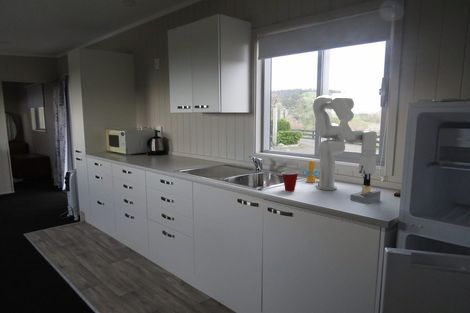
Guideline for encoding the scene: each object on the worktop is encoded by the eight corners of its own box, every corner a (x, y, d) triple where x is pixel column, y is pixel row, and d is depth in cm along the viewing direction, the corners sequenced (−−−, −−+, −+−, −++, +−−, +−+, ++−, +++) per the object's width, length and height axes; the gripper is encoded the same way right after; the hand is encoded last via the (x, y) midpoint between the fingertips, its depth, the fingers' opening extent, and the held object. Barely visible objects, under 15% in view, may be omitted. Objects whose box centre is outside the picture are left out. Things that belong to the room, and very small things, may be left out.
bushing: (360, 199, 184) (360, 186, 183) (364, 198, 187) (365, 185, 186) (367, 201, 181) (367, 187, 180) (371, 200, 183) (372, 186, 182)
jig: (350, 199, 185) (350, 190, 184) (362, 196, 192) (362, 187, 191) (368, 203, 176) (368, 194, 176) (380, 200, 183) (380, 191, 183)
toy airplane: (301, 182, 231) (301, 161, 229) (303, 179, 240) (303, 159, 239) (318, 183, 227) (319, 162, 225) (320, 180, 236) (321, 160, 234)
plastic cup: (288, 187, 214) (288, 169, 213) (301, 190, 206) (302, 172, 205) (277, 190, 207) (277, 171, 205) (291, 193, 199) (291, 174, 198)
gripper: (369, 151, 188) (368, 182, 190) (354, 153, 179) (353, 186, 181) (382, 152, 182) (380, 185, 184) (367, 154, 173) (365, 188, 175)
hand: (366, 185), depth 183 cm, fingers closed
